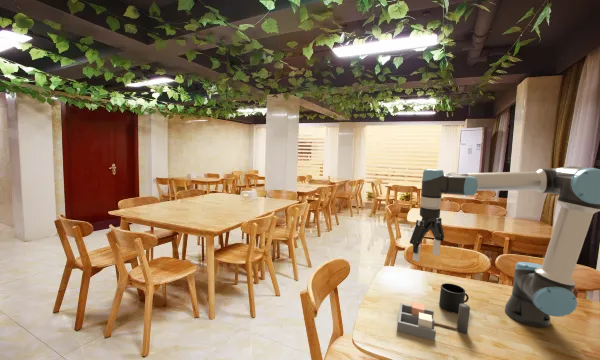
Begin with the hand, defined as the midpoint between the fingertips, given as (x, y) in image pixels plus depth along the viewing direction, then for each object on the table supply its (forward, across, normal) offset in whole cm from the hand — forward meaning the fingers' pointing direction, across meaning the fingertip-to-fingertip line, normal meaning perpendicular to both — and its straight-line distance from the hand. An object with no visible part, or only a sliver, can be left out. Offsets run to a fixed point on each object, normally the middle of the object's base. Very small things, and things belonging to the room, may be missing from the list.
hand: (426, 257), depth 120 cm
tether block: (+24, +2, +9) cm, 26 cm away
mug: (+24, -16, +5) cm, 30 cm away
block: (+24, +11, +8) cm, 28 cm away
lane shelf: (+24, +10, +4) cm, 26 cm away
